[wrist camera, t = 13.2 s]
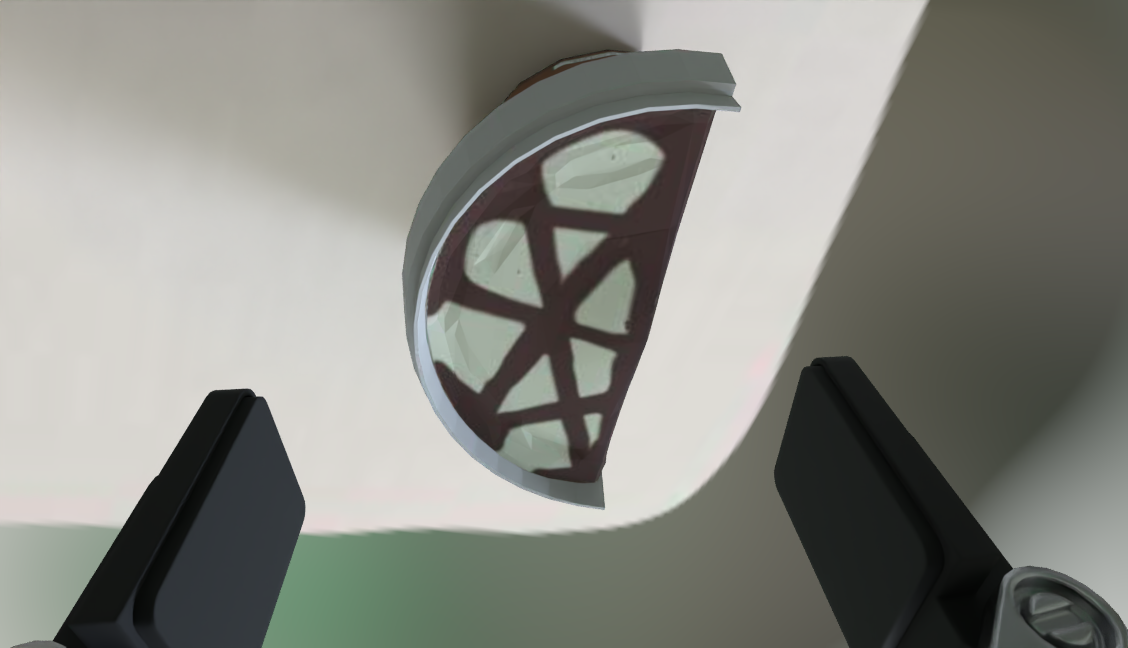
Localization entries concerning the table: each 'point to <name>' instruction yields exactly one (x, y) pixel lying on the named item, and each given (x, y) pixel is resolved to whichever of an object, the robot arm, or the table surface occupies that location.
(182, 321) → the table surface
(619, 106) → the food container
